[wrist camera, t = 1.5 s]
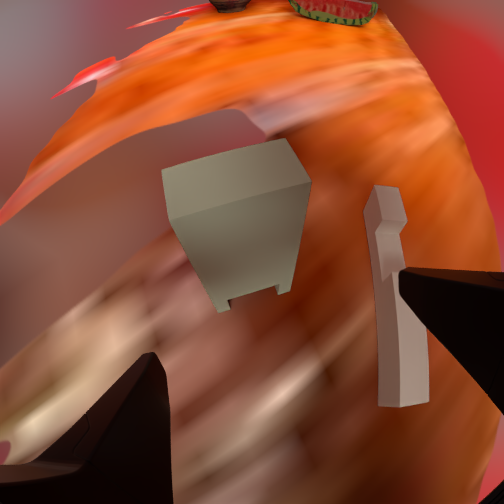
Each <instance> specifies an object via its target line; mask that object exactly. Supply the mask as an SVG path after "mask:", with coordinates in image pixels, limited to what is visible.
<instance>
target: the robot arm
mask: <svg viewBox="0 0 504 504" xmlns="http://www.w3.org/2000/svg"><path fill="white" fill-rule="evenodd" d="M398 288H399V294H400V296H401V298H402V299H403V300H404V301H405V303H406V304H407V305H408V306H409V307H410V309H411V310H412V311H413V312H414V314H415V315H416V316H417V318H418V319H419V320H420V321H421V322H422V323H423V325H424V326H425V327H426V328H427V329H428V330H429V331H430V332H431V333H432V334H433V335H434V336H435V337H436V338H437V339H438V340H439V341H440V342H441V343H442V344H443V345H444V347H445V348H446V349H447V350H448V351H449V352H450V353H451V354H452V355H453V356H454V357H455V358H456V360H457V361H458V362H459V363H460V364H461V365H462V366H463V367H464V368H465V370H466V371H467V372H468V373H469V374H470V375H471V376H472V377H473V379H474V380H475V381H476V382H477V383H478V384H479V386H480V387H481V388H482V389H483V390H484V391H485V393H486V394H488V396H489V398H490V399H491V400H492V401H493V403H494V404H495V405H496V406H497V407H498V409H499V410H500V411H501V413H502V414H503V415H504V272H485V271H467V270H449V269H432V268H414V267H407V268H404V269H402V270H400V271H399V273H398ZM0 504H173V490H172V471H171V432H170V405H169V396H168V387H167V377H166V372H165V370H164V368H163V366H162V364H161V362H160V360H159V359H158V357H157V355H156V354H155V353H154V352H149V353H145V354H143V355H141V356H140V358H139V359H138V360H137V361H136V362H135V363H134V364H133V365H132V366H131V367H130V368H129V369H128V370H127V371H126V372H125V373H124V374H123V375H122V376H121V377H120V378H119V379H118V380H117V381H116V382H115V383H114V384H113V385H112V386H111V387H110V388H109V389H108V390H107V391H106V392H105V393H104V394H103V395H102V396H101V397H100V398H99V399H98V401H97V402H96V403H95V404H94V405H93V406H92V407H91V408H90V409H89V410H88V411H87V412H86V414H84V415H83V416H82V417H81V418H80V419H79V420H78V421H77V422H76V423H75V424H74V425H73V426H72V427H71V428H70V429H69V430H68V431H67V432H66V433H65V434H63V435H62V436H61V437H60V438H59V439H58V440H57V441H56V442H54V443H53V444H52V445H51V446H50V447H49V448H47V449H46V450H45V451H44V452H43V453H42V454H41V455H39V456H38V457H37V458H36V459H34V460H33V461H31V462H29V463H26V464H21V465H0ZM478 504H504V480H503V481H502V482H501V483H500V484H499V485H498V486H497V487H496V488H495V489H494V490H493V491H492V492H491V493H489V495H487V496H486V497H485V498H484V499H483V500H482V501H481V502H479V503H478Z"/></svg>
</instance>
